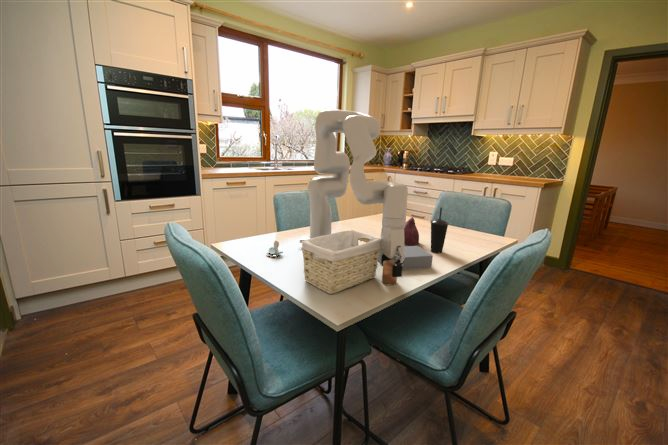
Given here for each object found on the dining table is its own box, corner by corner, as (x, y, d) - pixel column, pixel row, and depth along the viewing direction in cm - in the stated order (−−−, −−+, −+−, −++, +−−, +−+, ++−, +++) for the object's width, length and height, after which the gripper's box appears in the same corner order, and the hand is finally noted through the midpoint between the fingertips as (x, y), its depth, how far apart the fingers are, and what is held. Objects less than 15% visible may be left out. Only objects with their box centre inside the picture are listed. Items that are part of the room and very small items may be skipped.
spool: (385, 285, 103) (386, 266, 101) (379, 279, 107) (380, 260, 106) (399, 284, 104) (400, 265, 102) (393, 278, 108) (394, 259, 107)
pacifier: (271, 260, 124) (284, 256, 127) (271, 245, 122) (284, 242, 126) (263, 254, 129) (276, 251, 133) (262, 240, 127) (275, 237, 131)
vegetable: (419, 252, 145) (428, 225, 138) (397, 249, 145) (405, 221, 138) (415, 240, 154) (424, 214, 147) (395, 237, 154) (402, 211, 147)
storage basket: (349, 264, 120) (350, 228, 117) (381, 278, 109) (384, 238, 105) (299, 281, 104) (299, 240, 101) (331, 299, 93) (332, 253, 89)
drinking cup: (445, 250, 139) (450, 206, 135) (445, 255, 132) (450, 210, 128) (427, 247, 142) (432, 205, 137) (427, 253, 135) (431, 208, 130)
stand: (387, 270, 115) (388, 258, 113) (376, 259, 126) (377, 247, 125) (431, 267, 118) (432, 255, 117) (416, 257, 130) (417, 245, 129)
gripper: (374, 216, 108) (372, 262, 112) (393, 228, 91) (390, 282, 95) (394, 216, 109) (391, 261, 113) (416, 227, 93) (412, 280, 97)
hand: (390, 271), depth 104 cm, fingers open, 9 cm apart
